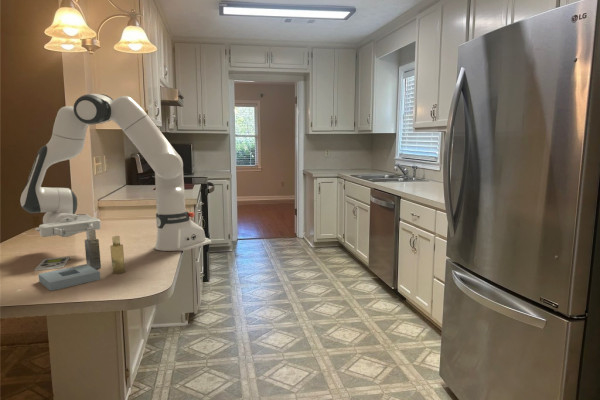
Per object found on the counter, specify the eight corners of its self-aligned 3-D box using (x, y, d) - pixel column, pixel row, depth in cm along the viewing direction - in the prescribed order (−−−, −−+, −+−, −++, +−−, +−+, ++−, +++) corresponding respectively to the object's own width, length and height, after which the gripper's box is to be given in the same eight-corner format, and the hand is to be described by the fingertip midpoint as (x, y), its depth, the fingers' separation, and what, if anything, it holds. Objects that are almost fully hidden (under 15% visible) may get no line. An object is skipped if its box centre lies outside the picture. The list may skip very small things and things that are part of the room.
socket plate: (86, 271, 141) (86, 264, 141) (100, 279, 133) (99, 271, 132) (39, 281, 131) (38, 273, 131) (50, 290, 123) (49, 282, 122)
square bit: (97, 266, 147) (93, 226, 145) (101, 268, 144) (97, 227, 142) (87, 268, 144) (83, 228, 142) (90, 270, 142) (87, 229, 140)
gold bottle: (122, 269, 142) (119, 234, 141) (127, 271, 140) (124, 236, 138) (110, 272, 140) (107, 236, 138) (115, 274, 137) (112, 238, 135)
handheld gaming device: (33, 269, 142) (43, 258, 156) (33, 272, 142) (43, 260, 156) (63, 266, 145) (70, 255, 159) (63, 269, 145) (70, 257, 159)
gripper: (33, 220, 153) (44, 225, 143) (92, 213, 167) (105, 218, 158) (34, 237, 154) (45, 243, 144) (93, 229, 168) (106, 234, 159)
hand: (77, 230), depth 151 cm, fingers open, 8 cm apart
